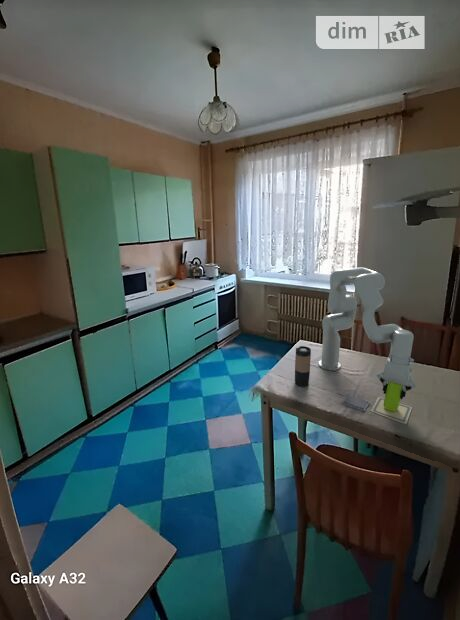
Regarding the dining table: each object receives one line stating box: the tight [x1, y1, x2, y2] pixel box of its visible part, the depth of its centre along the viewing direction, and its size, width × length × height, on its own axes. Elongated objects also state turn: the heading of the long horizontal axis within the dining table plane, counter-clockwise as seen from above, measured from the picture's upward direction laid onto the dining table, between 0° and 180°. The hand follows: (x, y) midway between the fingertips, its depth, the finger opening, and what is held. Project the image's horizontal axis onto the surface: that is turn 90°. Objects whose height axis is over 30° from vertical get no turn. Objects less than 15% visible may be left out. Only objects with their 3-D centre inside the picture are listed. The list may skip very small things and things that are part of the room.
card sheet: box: [370, 396, 413, 425], centre depth 131 cm, size 14×14×1 cm
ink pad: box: [341, 394, 371, 413], centre depth 135 cm, size 8×10×1 cm
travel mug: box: [294, 345, 312, 388], centre depth 151 cm, size 8×8×20 cm
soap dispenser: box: [383, 381, 403, 411], centre depth 127 cm, size 6×7×20 cm
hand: (393, 394), depth 129 cm, fingers closed on soap dispenser, 6 cm apart
